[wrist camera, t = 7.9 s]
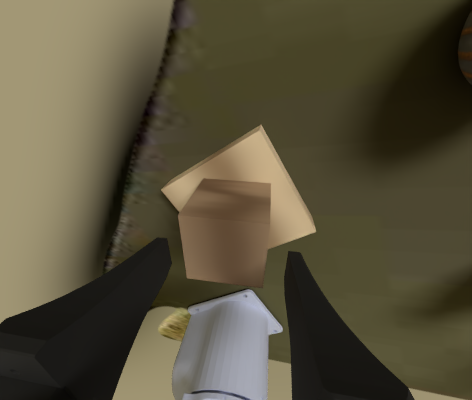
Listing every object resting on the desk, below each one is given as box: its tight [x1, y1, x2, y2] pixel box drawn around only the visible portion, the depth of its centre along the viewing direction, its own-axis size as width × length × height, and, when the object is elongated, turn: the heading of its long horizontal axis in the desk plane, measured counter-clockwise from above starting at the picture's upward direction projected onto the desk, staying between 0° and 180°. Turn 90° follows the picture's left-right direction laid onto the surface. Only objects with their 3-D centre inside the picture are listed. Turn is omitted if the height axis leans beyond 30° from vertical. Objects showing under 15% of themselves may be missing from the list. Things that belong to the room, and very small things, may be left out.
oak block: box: [161, 125, 316, 249], centre depth 18 cm, size 9×9×2 cm
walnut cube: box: [178, 178, 271, 288], centre depth 15 cm, size 5×5×5 cm
